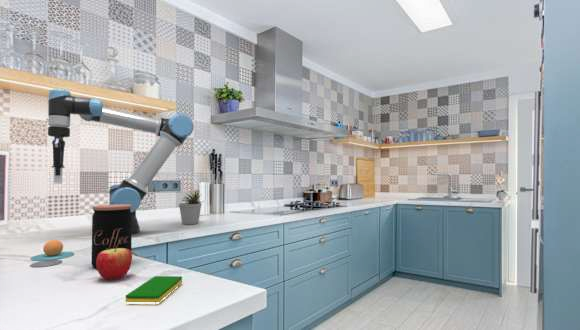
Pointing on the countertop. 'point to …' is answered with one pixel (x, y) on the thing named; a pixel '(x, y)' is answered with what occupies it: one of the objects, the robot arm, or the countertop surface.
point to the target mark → (45, 257)
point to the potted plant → (190, 210)
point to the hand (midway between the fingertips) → (57, 183)
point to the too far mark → (46, 263)
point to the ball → (53, 247)
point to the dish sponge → (154, 289)
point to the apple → (114, 262)
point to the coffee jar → (111, 228)
